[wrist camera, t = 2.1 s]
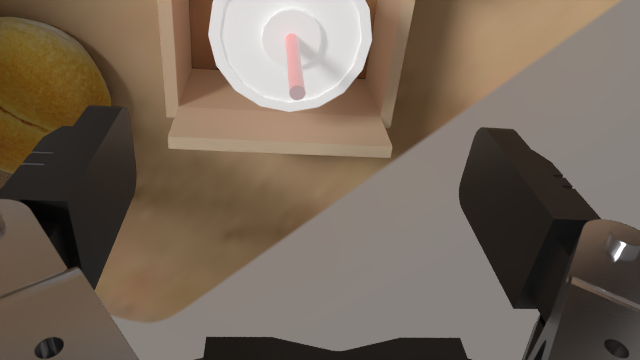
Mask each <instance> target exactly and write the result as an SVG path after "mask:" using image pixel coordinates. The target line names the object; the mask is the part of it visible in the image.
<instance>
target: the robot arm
mask: <svg viewBox="0 0 640 360" xmlns="http://www.w3.org/2000/svg"><path fill="white" fill-rule="evenodd" d="M135 187H136V162H135V154H134V146H133V138H132V130H131V122H130V116H129V112H128V110H127V108H126V107H118V106H100V105H89V106H88V107H87V108H86V109H85V110H84V112H83V113H82V114H81V116H80V117H79V119H78V120H77V121H76V123H75V124H74V125H73V126H62V127H60V128H58V129H56V130H55V131H53V132H51V133H49V134H47V135H46V136H44V137H43V138H42V139H41V140H40V141H39V143H38V144H37V145H36V146H35V148H34V149H33V150H32V153H30V154H29V155H28V156H27V157H26V159H25V160H24V161H23V165H20V166H19V167H18V169H17V170H16V171H15V172H14V173H13V175H12V176H11V177H10V178H9V180H8V181H7V182H6V183H5V185H4V186H3V187H2V188H1V189H0V360H139V358H138V357H137V355H136V354H135V352H134V351H133V349H132V348H131V346H130V345H129V343H128V342H127V340H126V339H125V337H124V335H123V334H122V332H121V331H120V329H119V328H118V326H117V325H116V323H115V322H114V320H113V319H112V317H111V315H110V314H109V312H108V311H107V309H106V308H105V306H104V305H103V303H102V302H101V300H100V299H99V297H98V296H97V294H96V293H95V291H94V290H95V288H96V286H97V283H98V281H99V278H100V276H101V273H102V271H103V269H104V266H105V264H106V261H107V259H108V256H109V254H110V252H111V249H112V247H113V244H114V242H115V239H116V237H117V235H118V232H119V230H120V227H121V225H122V222H123V220H124V218H125V215H126V213H127V210H128V208H129V205H130V203H131V201H132V198H133V196H134V192H135ZM459 200H460V205H461V208H462V210H463V212H464V214H465V216H466V218H467V219H468V221H469V224H470V225H471V227H472V229H473V231H474V233H475V235H476V237H477V239H478V241H479V243H480V245H481V246H482V249H483V250H484V253H485V254H486V256H487V258H488V260H489V262H490V264H491V266H492V268H493V270H494V272H495V274H496V276H497V278H498V280H499V282H500V283H501V285H502V287H503V289H504V291H505V293H506V295H507V297H508V299H509V301H510V303H511V305H512V307H513V308H514V309H538V311H539V312H540V315H539V317H538V319H537V321H536V323H535V325H534V328H533V330H532V333H531V336H530V339H529V342H528V344H527V347H526V350H525V353H524V355H523V358H522V360H640V231H639V230H637V229H636V228H634V227H631V226H628V225H626V224H623V223H620V222H616V221H612V220H603V219H601V218H600V217H599V216H598V215H597V214H596V212H595V211H594V210H593V209H592V208H591V207H590V206H589V204H587V202H586V201H585V200H584V199H583V198H582V196H581V195H580V194H579V193H578V192H577V191H576V190H575V189H572V185H571V184H570V183H569V182H568V181H567V179H566V178H563V175H562V174H561V173H560V172H559V170H558V169H557V168H556V167H555V166H554V165H553V163H552V162H550V161H549V160H547V159H545V158H544V157H543V156H541V155H540V154H538V153H536V152H535V151H533V150H531V149H530V148H529V146H528V145H527V144H526V143H525V142H524V140H522V138H521V137H520V136H519V135H518V133H517V132H516V131H515V130H513V129H502V128H501V129H500V128H484V127H483V128H480V129H479V130H478V131H477V132H476V135H475V136H474V140H473V143H472V146H471V149H470V152H469V156H468V159H467V162H466V166H465V169H464V172H463V175H462V179H461V182H460V187H459ZM195 360H471V359H468V358H467V356H466V353H465V350H464V348H463V345H462V342H461V340H460V338H398V339H393V340H389V341H384V342H380V343H376V344H372V345H367V346H363V347H359V348H354V349H350V350H346V351H331V350H327V349H322V348H318V347H313V346H309V345H304V344H300V343H295V342H290V341H286V340H282V339H277V338H273V337H206V343H205V350H204V357H203V358H200V359H195Z"/></svg>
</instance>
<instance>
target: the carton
mask: <svg viewBox="0 0 640 360" xmlns="http://www.w3.org/2000/svg"><path fill="white" fill-rule="evenodd" d="M414 5H415V0H377V7H376V13H375V19H374V26H373V32H372V42H371V45H370V51H369V58H368V64H367V70H366V77H365V79H356V78H355V80H354V81H353V82H352V83H351V84H350V86H349V87H348V88H347V89H346V91H345V92H344V93H342V94H341V95H339V96H337V97H335V98H334V99H332V100H330V101H328V102H327V103H325V104H323V105H321V106H320V107H317V108H311V109H305V110H298V111H292V112H287V111H282V110H277V109H272V108H267V107H262V106H259V105H258V104H256V103H255V102H253V101H251V100H250V99H248V98H246V97H245V96H243V95H242V94H240V93H238V92H237V91H235V90H234V88H233V87H232V86H231V84H230V83H229V82H228V80H227V79H226V78H225V76H224V75H223V74H222V72H221V71H220V70H211V69H195V68H192V57H191V35H190V14H189V0H157V6H158V18H159V31H160V43H161V55H162V68H163V80H164V93H165V105H166V117H173V118H174V120H173V123H172V126H171V129H170V132H169V134H168V147H169V149H188V150H211V151H235V152H259V153H282V154H306V155H330V156H353V157H377V158H390V157H391V152H392V144H391V142H390V139H389V137H388V134H387V132H386V129H385V128H390V126H391V121H392V116H393V111H394V106H395V101H396V96H397V91H398V86H399V81H400V75H401V70H402V65H403V60H404V55H405V50H406V45H407V40H408V35H409V30H410V25H411V20H412V15H413V10H414Z"/></svg>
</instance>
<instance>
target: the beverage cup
mask: <svg viewBox="0 0 640 360" xmlns="http://www.w3.org/2000/svg"><path fill="white" fill-rule="evenodd" d="M208 36H209V40H210V44H211V47H212V51H213V55H214V59H215V62H216V66H217V67H218V69H219V70H220V71H221V72H222V74H223V75H224V76H225V78H226V79H227V80H228V82H229V83H230V84H231V86H232V87H233V88H234V90H235V91H237V92H238V93H240V94H242V95H243V96H245V97H246V98H248V99H250V100H251V101H253V102H255V103H256V104H258V105H259V106H262V107H267V108H272V109H277V110H282V111H287V112H292V111H298V110H305V109H311V108H317V107H320V106H321V105H323V104H325V103H327V102H328V101H330V100H332V99H334V98H335V97H337V96H339V95H341V94H342V93H344V92H345V91H346V89H347V88H348V87H349V86H350V84H351V83H352V82H353V81H354V80H355V78H356V77H357V76H358V75H359V73H360V72H361V71H362V70H363V67H364V64H365V61H366V58H367V55H368V51H369V48H370V45H371V42H372V33H371V21H370V8H369V7H368V5H367V3H366V1H365V0H213V3H212V11H211V18H210V25H209V32H208Z"/></svg>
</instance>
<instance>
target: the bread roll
mask: <svg viewBox="0 0 640 360" xmlns="http://www.w3.org/2000/svg"><path fill="white" fill-rule="evenodd" d="M89 105H100V106H111V97H110V93H109V90H108V88H107V86H106V83H105V81H104V79H103V77H102V75H101V73H100V71H99V69H98V67H97V66H96V64H95V63H94V61H93V60H92V58H91V57H90V55H89V54H88V52H87V51H86V50H85V49H84V47H83V46H82V45H81V44H80V43H79V42H78V41H77V40H75V39H74V38H73V37H71V36H70V35H68V34H67V33H65V32H63V31H62V30H59V29H57V28H55V27H53V26H51V25H49V24H46V23H43V22H39V21H34V20H30V19H25V18H18V17H0V170H1V171H4V172H7V173H11V174H13V173H14V172H15V171H16V170H17V169H18V167H19V166H20V165H23V161H24V160H25V159H26V157H27V156H28V155H29V154H30V153H32V150H33V149H34V148H35V146H36V145H37V144H38V143H39V141H40V140H41V139H42V138H43V137H44V136H46V135H47V134H49V133H51V132H53V131H55V130H56V129H58V128H60V127H62V126H73V125H74V124H75V123H76V121H77V120H78V119H79V117H80V116H81V114H82V113H83V112H84V110H85V109H86V108H87V107H88V106H89Z"/></svg>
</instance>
